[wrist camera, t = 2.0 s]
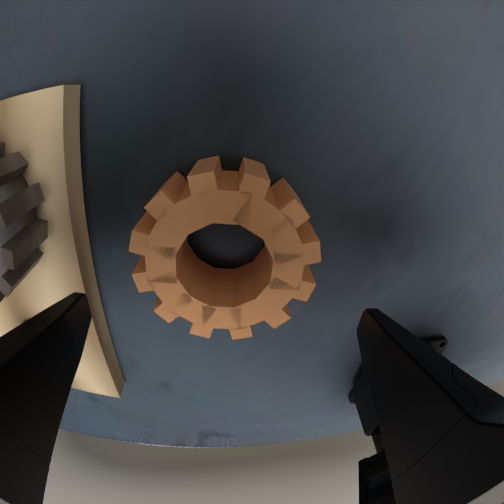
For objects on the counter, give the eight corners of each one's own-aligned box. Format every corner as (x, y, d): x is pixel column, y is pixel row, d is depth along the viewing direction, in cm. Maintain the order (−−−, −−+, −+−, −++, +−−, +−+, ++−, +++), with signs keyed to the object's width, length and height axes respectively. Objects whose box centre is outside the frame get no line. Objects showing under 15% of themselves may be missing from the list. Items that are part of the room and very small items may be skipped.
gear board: (80, 85, 10) (0, 87, 5) (124, 382, 19) (107, 445, 14) (-43, 118, 9) (-107, 141, 4) (21, 358, 18) (-5, 406, 13)
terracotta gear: (316, 163, 12) (337, 181, 10) (292, 301, 16) (301, 341, 13) (146, 153, 12) (122, 169, 9) (154, 294, 15) (141, 332, 13)
